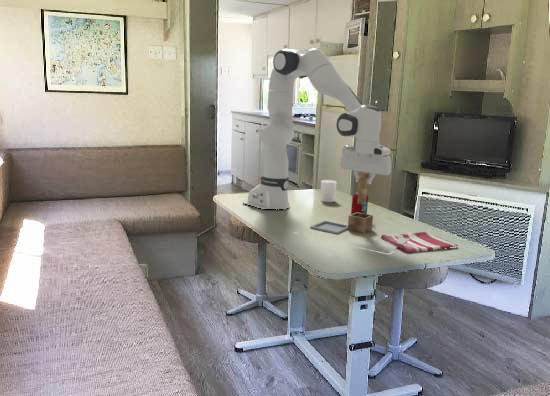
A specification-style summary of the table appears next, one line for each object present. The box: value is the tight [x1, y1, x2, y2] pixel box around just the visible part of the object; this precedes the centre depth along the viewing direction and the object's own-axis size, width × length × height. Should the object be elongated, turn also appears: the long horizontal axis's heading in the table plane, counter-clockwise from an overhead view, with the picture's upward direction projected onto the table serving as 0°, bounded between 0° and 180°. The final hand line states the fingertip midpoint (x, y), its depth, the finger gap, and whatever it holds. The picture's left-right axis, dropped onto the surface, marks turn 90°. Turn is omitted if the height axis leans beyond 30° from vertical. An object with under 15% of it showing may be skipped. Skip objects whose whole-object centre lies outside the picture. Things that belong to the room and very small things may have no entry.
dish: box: [309, 220, 349, 235], centre depth 203 cm, size 12×12×1 cm
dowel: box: [357, 172, 369, 204], centre depth 199 cm, size 3×3×12 cm
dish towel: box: [380, 231, 459, 254], centre depth 190 cm, size 17×23×3 cm
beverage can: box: [350, 191, 369, 215], centre depth 219 cm, size 7×7×12 cm
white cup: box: [320, 179, 338, 203], centre depth 254 cm, size 8×8×10 cm
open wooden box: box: [347, 212, 374, 234], centre depth 202 cm, size 7×7×7 cm
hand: (363, 183), depth 198 cm, fingers closed on dowel, 3 cm apart
